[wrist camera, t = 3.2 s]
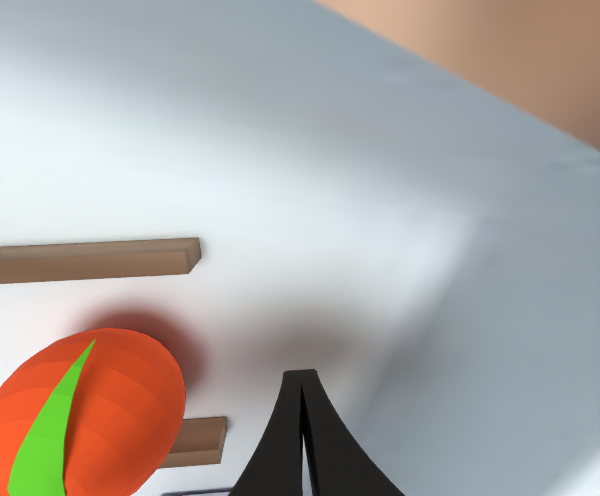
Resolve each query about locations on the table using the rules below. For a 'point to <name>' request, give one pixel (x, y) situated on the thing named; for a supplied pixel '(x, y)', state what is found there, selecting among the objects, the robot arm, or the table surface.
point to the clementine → (89, 416)
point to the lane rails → (116, 264)
